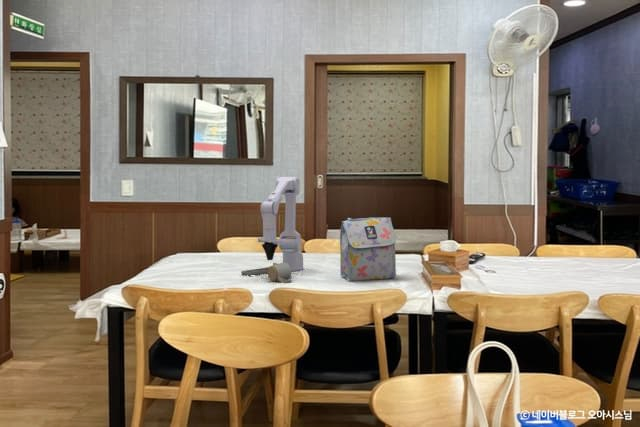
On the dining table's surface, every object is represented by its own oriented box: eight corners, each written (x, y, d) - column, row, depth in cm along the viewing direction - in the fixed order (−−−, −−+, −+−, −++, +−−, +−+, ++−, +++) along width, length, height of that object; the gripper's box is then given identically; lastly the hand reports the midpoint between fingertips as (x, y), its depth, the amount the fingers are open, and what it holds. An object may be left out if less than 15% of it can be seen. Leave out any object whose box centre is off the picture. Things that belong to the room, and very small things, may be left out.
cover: (267, 267, 328) (267, 262, 328) (276, 266, 330) (276, 261, 330) (280, 272, 314) (280, 267, 314) (290, 271, 316) (290, 266, 316)
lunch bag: (348, 283, 297) (348, 220, 295) (337, 276, 313) (336, 217, 311) (398, 280, 303) (398, 218, 301) (384, 274, 319) (384, 215, 317)
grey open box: (270, 270, 331) (270, 266, 331) (278, 272, 327) (278, 268, 327) (241, 274, 320) (241, 271, 320) (249, 276, 315) (249, 272, 315)
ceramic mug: (266, 281, 304) (266, 263, 303) (281, 278, 309) (281, 261, 308) (281, 284, 296) (281, 266, 295) (296, 282, 301) (296, 264, 300)
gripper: (252, 228, 310) (252, 259, 311) (273, 230, 299) (273, 262, 300) (264, 227, 314) (265, 257, 316) (285, 229, 304) (286, 260, 305)
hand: (270, 259), depth 308 cm, fingers closed
